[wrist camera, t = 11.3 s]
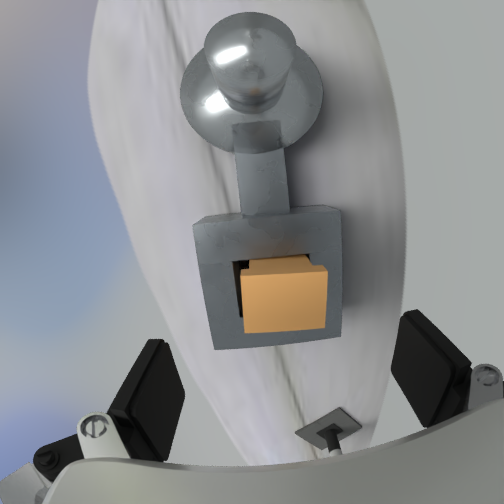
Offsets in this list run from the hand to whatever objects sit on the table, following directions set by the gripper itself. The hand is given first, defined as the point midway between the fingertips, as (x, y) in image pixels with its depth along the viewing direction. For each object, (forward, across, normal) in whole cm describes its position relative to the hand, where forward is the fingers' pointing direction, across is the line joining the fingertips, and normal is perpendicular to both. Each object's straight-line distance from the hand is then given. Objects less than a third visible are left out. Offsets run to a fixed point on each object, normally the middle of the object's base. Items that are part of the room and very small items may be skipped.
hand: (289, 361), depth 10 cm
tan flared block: (+15, 0, 0) cm, 15 cm away
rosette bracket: (+15, 0, -7) cm, 16 cm away
